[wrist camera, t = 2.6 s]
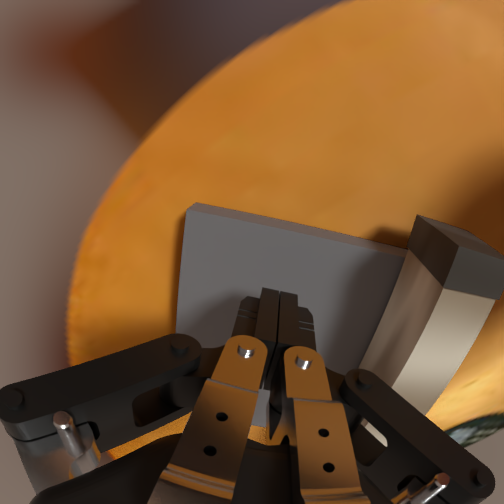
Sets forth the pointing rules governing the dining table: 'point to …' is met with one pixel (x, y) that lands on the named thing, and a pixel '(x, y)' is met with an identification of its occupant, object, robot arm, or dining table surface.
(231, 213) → the grey slab beige block
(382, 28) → the dining table surface
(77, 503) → the robot arm
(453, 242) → the folding leg
